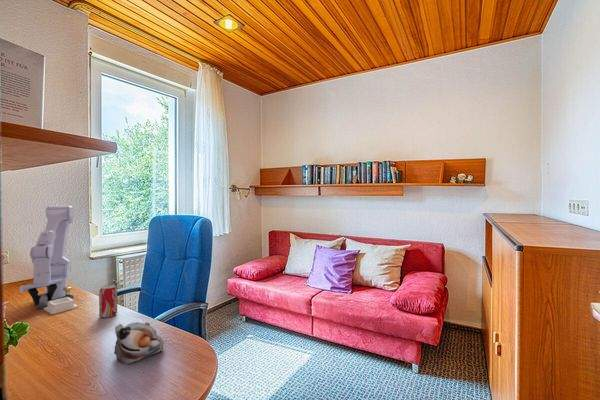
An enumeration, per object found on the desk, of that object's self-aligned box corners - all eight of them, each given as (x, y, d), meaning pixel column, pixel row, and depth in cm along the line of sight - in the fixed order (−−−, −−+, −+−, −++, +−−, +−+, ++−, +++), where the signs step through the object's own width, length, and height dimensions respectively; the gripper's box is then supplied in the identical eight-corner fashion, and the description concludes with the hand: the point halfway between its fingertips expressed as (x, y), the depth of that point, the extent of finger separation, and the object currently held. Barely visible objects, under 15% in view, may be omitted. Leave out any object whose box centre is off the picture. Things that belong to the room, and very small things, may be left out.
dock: (41, 308, 132) (41, 300, 132) (70, 300, 141) (70, 293, 141) (51, 314, 125) (51, 306, 125) (81, 306, 134) (81, 298, 134)
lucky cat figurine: (172, 344, 101) (174, 315, 94) (149, 378, 90) (149, 348, 84) (130, 329, 102) (130, 300, 95) (103, 361, 91) (100, 330, 85)
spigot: (35, 307, 132) (35, 294, 132) (46, 304, 135) (46, 292, 135) (38, 309, 130) (38, 296, 130) (50, 306, 133) (50, 294, 133)
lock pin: (61, 296, 138) (61, 287, 138) (70, 294, 141) (70, 285, 141) (64, 298, 136) (64, 289, 136) (73, 296, 139) (73, 287, 139)
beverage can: (111, 318, 121) (110, 289, 121) (95, 318, 121) (95, 288, 121) (120, 312, 127) (120, 284, 127) (105, 312, 127) (105, 284, 127)
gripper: (23, 278, 124) (23, 310, 124) (65, 270, 136) (66, 300, 136) (18, 275, 128) (18, 307, 128) (59, 268, 140) (60, 297, 140)
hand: (42, 303), depth 133 cm, fingers closed on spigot, 4 cm apart
